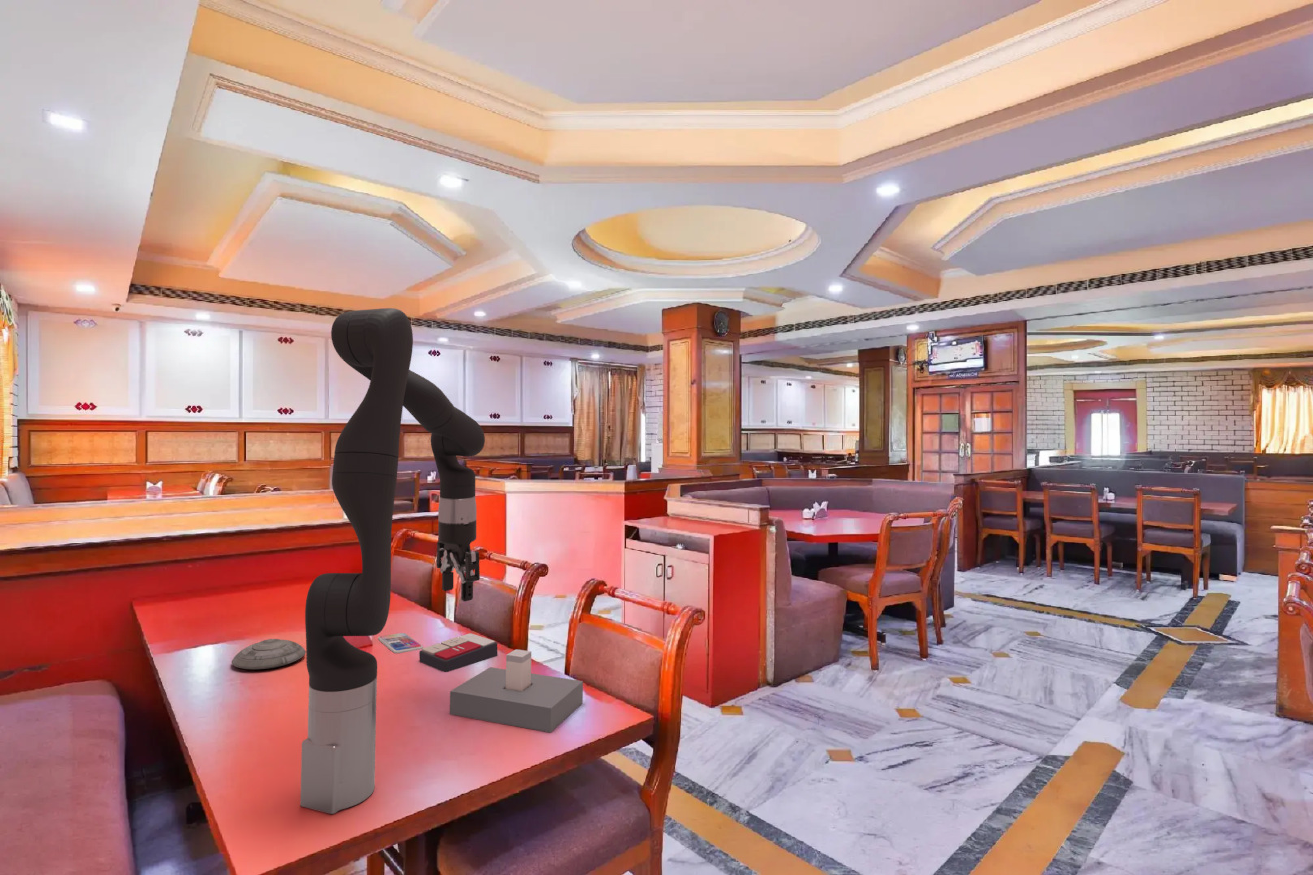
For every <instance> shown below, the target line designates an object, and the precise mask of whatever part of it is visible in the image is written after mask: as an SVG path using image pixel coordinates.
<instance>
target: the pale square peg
mask: <svg viewBox="0 0 1313 875" xmlns="http://www.w3.org/2000/svg"><path fill="white" fill-rule="evenodd" d="M505 655H506V656H505V669H506V689H509V690H515V691H521V692H523V691H524V690H525V689H527V688H528V687H530V686H531V673H532V651H530V650H524V649H514V650H512V651H510V652H509V653H507V654H505Z"/></svg>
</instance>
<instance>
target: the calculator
mask: <svg viewBox="0 0 1313 875" xmlns="http://www.w3.org/2000/svg"><path fill="white" fill-rule="evenodd" d="M418 653H419V654H418V655H419V663H422V664H423V665H426V666H429V667H431V668H434V669H436V670H438V671H441V672H443V673H449V672H452V671H455V670H458V669H461V668H464V667H468V666H470V665H472V664H474V663H477V662H481V661H486V660H489V659H492V658H496V657H497V656H498V642H497V641H496V640H493V639H489V638H487V637H484V636H480V635H478V634H474V633H472V632H471V633H466V634H463V635H461V636H455V637H453V638H452V637H451V638H449V639H447V640H442V641H441V642H439V643H438V642H437V643H434V644H432V645H428V646H426V647H423V648H422V649H420V651H419V652H418Z"/></svg>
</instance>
